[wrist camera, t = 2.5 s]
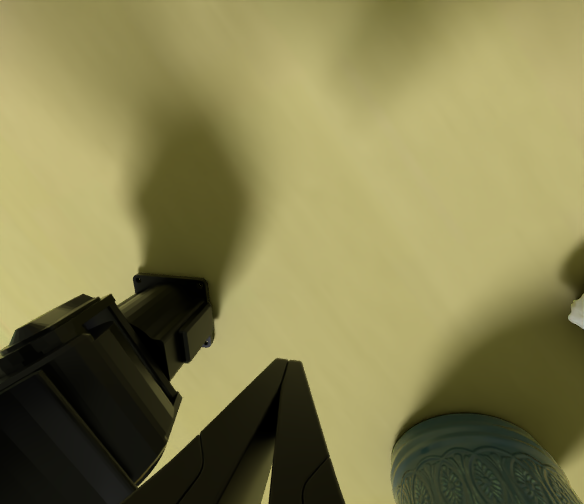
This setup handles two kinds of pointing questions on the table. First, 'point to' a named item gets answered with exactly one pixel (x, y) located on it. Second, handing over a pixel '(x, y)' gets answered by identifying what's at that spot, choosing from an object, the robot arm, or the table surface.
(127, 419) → the robot arm
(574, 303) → the skull
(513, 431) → the canister
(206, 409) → the table surface
